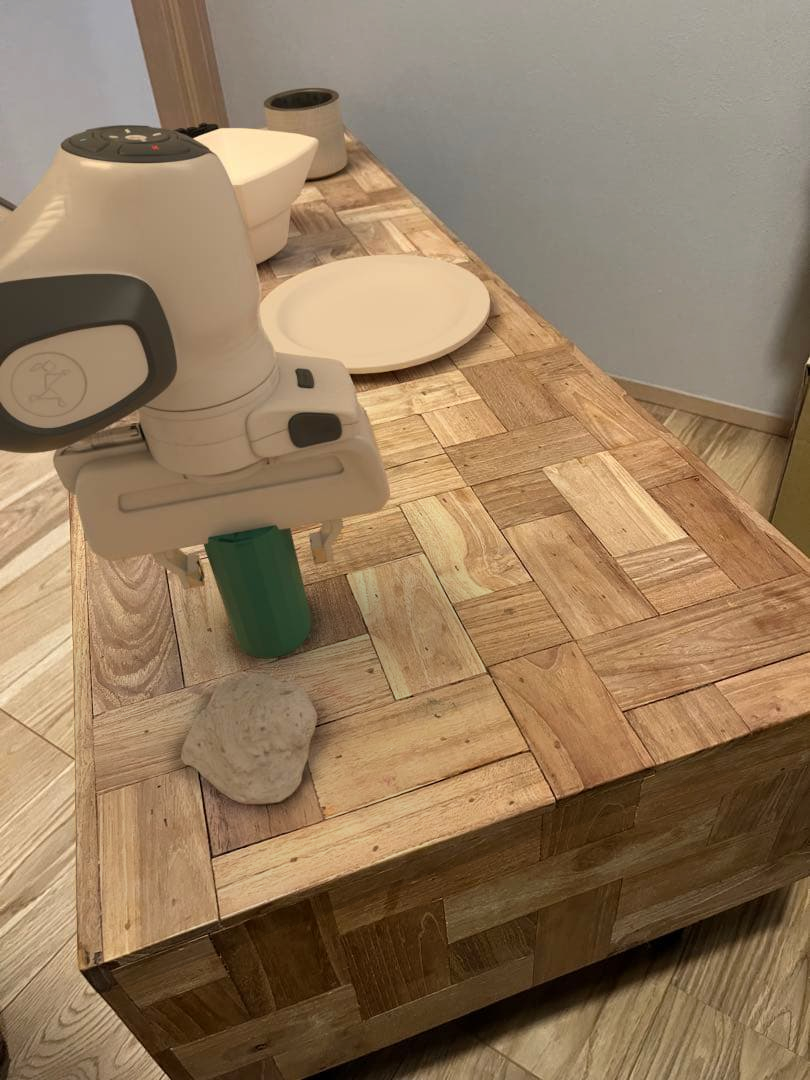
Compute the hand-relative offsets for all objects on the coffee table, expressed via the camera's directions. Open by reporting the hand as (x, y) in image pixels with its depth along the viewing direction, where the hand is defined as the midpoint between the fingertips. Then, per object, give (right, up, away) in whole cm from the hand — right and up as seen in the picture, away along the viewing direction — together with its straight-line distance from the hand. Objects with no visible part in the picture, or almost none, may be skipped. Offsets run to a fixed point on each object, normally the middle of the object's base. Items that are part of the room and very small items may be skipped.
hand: (259, 569), depth 60 cm
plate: (+7, +28, +40) cm, 49 cm away
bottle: (0, -5, +5) cm, 7 cm away
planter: (-5, +65, +81) cm, 104 cm away
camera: (-27, +65, +84) cm, 110 cm away
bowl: (-11, +42, +57) cm, 71 cm away
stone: (0, -12, -3) cm, 12 cm away
